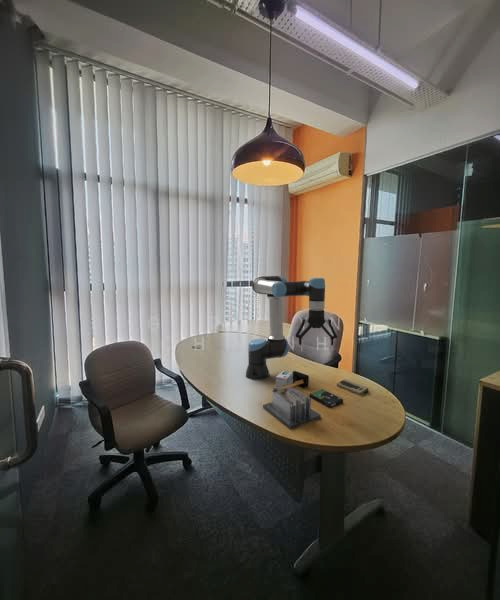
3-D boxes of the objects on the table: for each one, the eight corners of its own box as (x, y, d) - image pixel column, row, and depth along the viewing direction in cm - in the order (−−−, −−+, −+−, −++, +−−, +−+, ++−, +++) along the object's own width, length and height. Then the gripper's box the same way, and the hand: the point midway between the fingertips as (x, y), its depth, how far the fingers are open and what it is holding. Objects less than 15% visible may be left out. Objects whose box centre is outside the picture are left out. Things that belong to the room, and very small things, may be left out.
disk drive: (343, 404, 144) (322, 393, 156) (343, 399, 143) (322, 388, 156) (329, 409, 138) (308, 397, 151) (329, 404, 138) (308, 392, 150)
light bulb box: (282, 387, 163) (282, 370, 162) (293, 390, 160) (293, 372, 158) (275, 395, 153) (275, 376, 152) (286, 397, 150) (286, 378, 149)
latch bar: (276, 391, 141) (275, 387, 141) (282, 389, 143) (281, 386, 143) (297, 385, 126) (295, 381, 126) (303, 383, 128) (302, 379, 128)
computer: (336, 386, 165) (336, 381, 164) (344, 383, 169) (345, 378, 169) (360, 396, 152) (360, 390, 151) (368, 392, 156) (368, 387, 156)
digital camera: (289, 383, 168) (289, 372, 168) (294, 381, 172) (295, 370, 171) (302, 389, 161) (302, 377, 160) (308, 386, 164) (308, 375, 163)
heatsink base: (262, 407, 139) (262, 387, 138) (291, 399, 148) (291, 380, 147) (290, 429, 121) (290, 406, 119) (320, 418, 129) (321, 396, 128)
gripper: (291, 310, 134) (290, 352, 137) (344, 310, 131) (343, 354, 134) (290, 308, 142) (290, 348, 144) (341, 308, 139) (339, 349, 141)
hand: (315, 351), depth 139 cm, fingers open, 13 cm apart
